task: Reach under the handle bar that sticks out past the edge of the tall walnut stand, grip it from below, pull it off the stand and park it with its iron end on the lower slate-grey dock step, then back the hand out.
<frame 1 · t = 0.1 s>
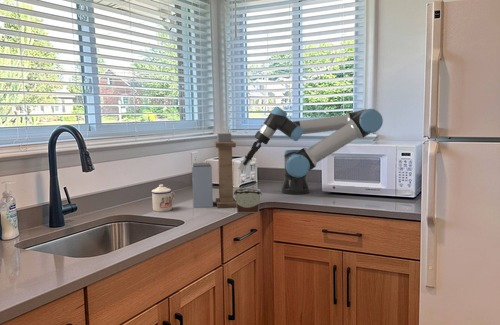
hand: (241, 168, 226), 15 cm above the worktop, tool tilted 35°, fingers open, 13 cm apart
handle: (223, 141, 214), point 30 cm above the worktop, touching stand
food container: (248, 211, 196), on the worktop
teacup with lid: (164, 209, 203), on the worktop
stand: (226, 204, 210), on the worktop
dock: (202, 204, 211), on the worktop
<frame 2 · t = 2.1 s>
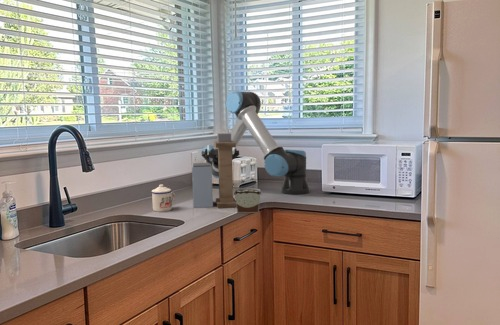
hand: (221, 147, 229), 26 cm above the worktop, tool pointing upward, fingers open, 13 cm apart
nothing on the worktop moved.
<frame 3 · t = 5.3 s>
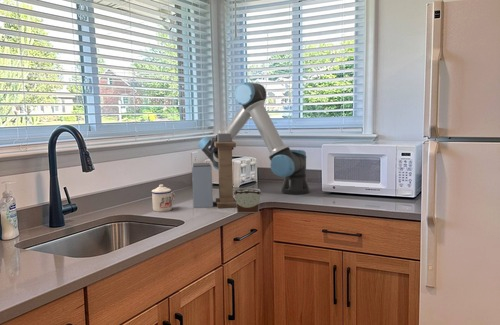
hand: (222, 133, 215), 34 cm above the worktop, tool pointing upward, fingers closed on handle, 2 cm apart
handle: (223, 141, 214), point 30 cm above the worktop, touching gripper, stand
everything else where it was.
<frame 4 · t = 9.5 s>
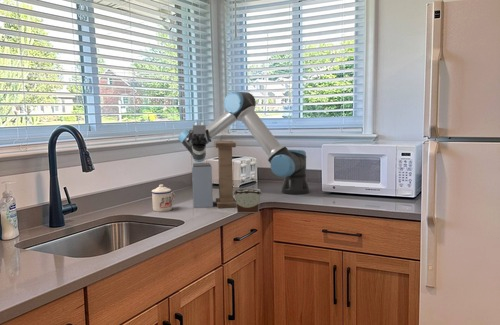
hand: (198, 124, 220), 38 cm above the worktop, tool pointing upward, fingers closed on handle, 2 cm apart
handle: (199, 132, 219), point 34 cm above the worktop, touching gripper
everything else where it was.
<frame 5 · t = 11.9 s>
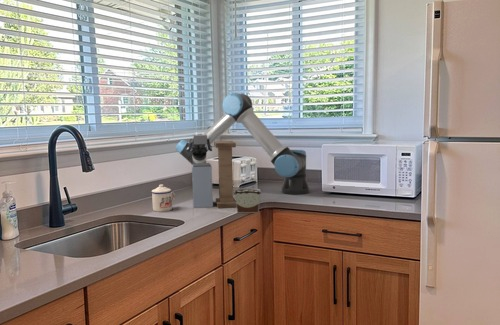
hand: (199, 134, 213), 33 cm above the worktop, tool pointing upward, fingers closed on handle, 2 cm apart
handle: (200, 142, 212), point 30 cm above the worktop, touching gripper
everything else where it was.
when the fingers open (25 cm above the worktop, at t = 13.9 s): handle drops 1 cm, resting on dock.
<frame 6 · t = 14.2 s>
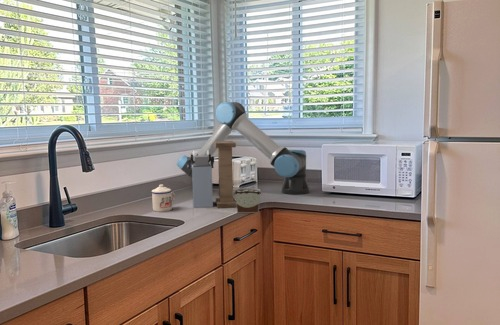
hand: (200, 152, 215), 25 cm above the worktop, tool pointing upward, fingers open, 6 cm apart
handle: (201, 163, 213), point 20 cm above the worktop, touching dock
everything else where it was.
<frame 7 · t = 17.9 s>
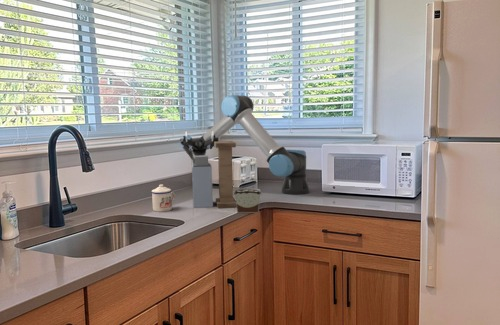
hand: (199, 133, 226), 33 cm above the worktop, tool pointing upward, fingers open, 13 cm apart
nothing on the worktop moved.
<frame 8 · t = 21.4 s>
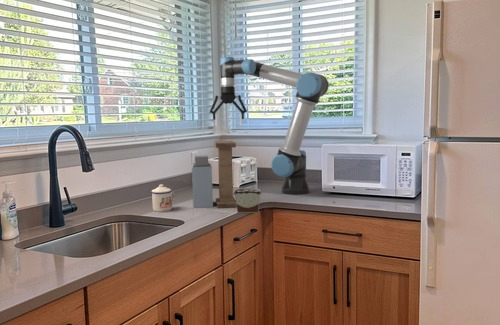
hand: (228, 125, 240), 37 cm above the worktop, tool pointing down, fingers open, 13 cm apart
nothing on the worktop moved.
at the end: handle inside the target area on the dock (0.1 cm from its centre), point 19.6 cm above the dock's base; handle touching dock; the gripper is holding nothing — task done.
